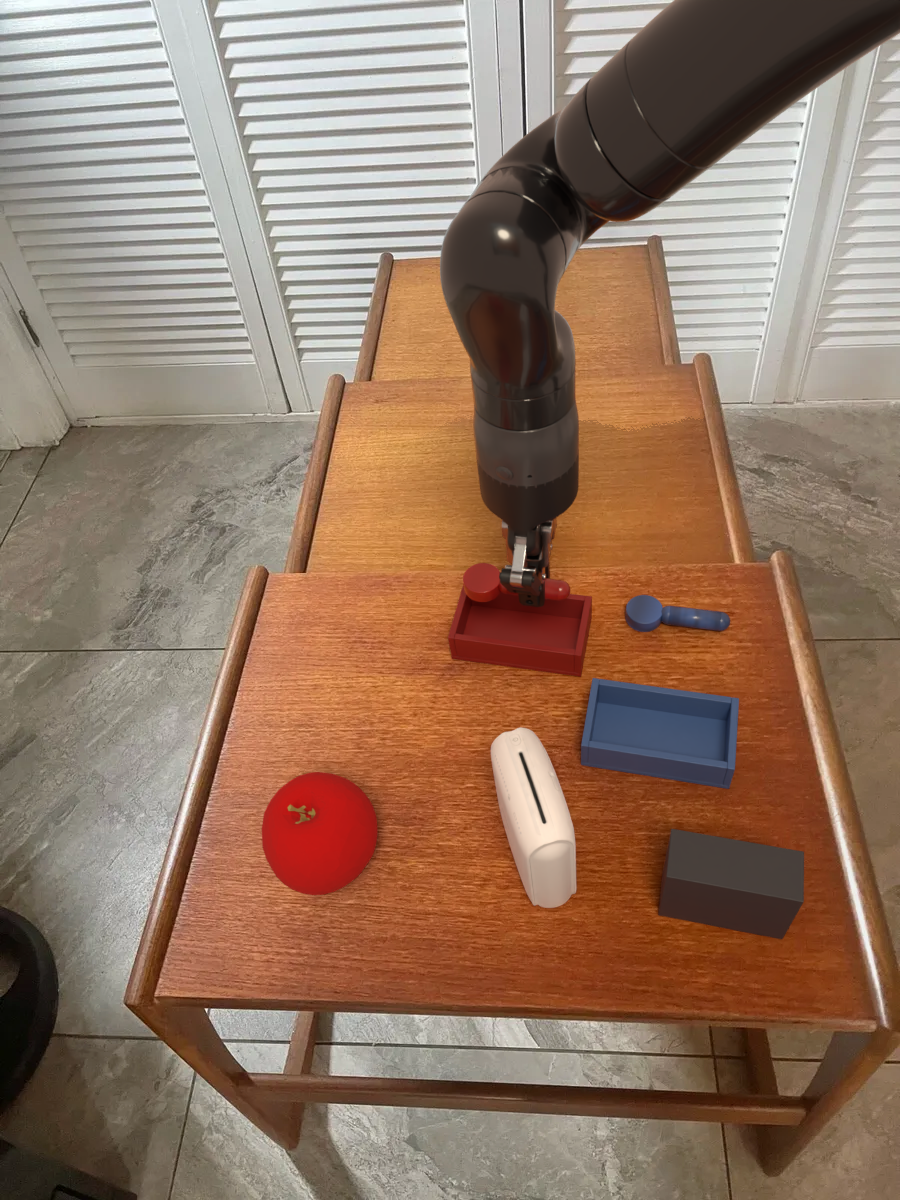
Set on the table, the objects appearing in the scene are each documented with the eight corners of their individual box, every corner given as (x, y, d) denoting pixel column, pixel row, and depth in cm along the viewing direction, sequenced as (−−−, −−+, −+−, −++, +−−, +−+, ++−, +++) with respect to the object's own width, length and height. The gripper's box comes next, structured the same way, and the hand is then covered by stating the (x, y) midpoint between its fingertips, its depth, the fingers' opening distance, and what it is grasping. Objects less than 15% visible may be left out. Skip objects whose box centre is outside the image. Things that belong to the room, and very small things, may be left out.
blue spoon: (729, 613, 85) (732, 602, 83) (727, 643, 83) (730, 631, 81) (627, 601, 87) (628, 589, 86) (623, 629, 85) (624, 618, 84)
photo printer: (493, 798, 76) (480, 725, 66) (541, 784, 76) (536, 709, 67) (530, 916, 70) (522, 854, 60) (583, 900, 70) (584, 836, 60)
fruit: (294, 796, 78) (262, 740, 70) (395, 807, 76) (374, 751, 69) (263, 901, 73) (225, 853, 65) (371, 916, 71) (346, 869, 63)
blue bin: (733, 719, 78) (739, 697, 75) (729, 789, 74) (735, 769, 71) (592, 698, 81) (592, 677, 78) (580, 765, 77) (581, 745, 74)
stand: (783, 892, 69) (804, 851, 62) (782, 939, 67) (803, 902, 60) (662, 870, 71) (671, 828, 64) (658, 915, 69) (666, 876, 62)
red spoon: (573, 582, 80) (573, 569, 78) (567, 613, 78) (567, 600, 76) (469, 570, 82) (467, 557, 81) (460, 599, 80) (458, 587, 79)
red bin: (591, 618, 86) (592, 596, 83) (581, 677, 82) (581, 655, 80) (467, 603, 89) (464, 580, 86) (451, 659, 85) (447, 637, 82)
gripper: (562, 520, 61) (564, 662, 75) (591, 388, 69) (588, 538, 83) (455, 509, 63) (476, 650, 76) (495, 381, 71) (508, 530, 84)
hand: (534, 591), depth 79 cm, fingers closed on red spoon, 1 cm apart
